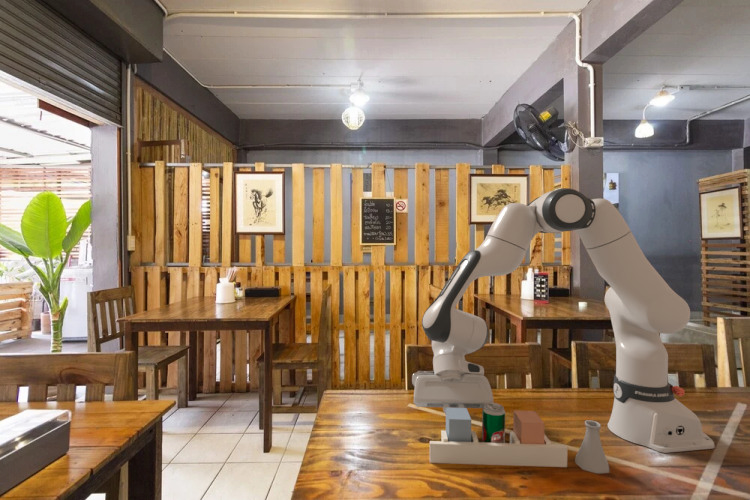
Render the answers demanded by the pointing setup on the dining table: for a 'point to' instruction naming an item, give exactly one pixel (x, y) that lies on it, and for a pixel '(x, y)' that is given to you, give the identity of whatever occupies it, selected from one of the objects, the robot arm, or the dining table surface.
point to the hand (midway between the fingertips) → (455, 424)
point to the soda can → (493, 423)
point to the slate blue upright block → (458, 425)
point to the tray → (498, 452)
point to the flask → (592, 450)
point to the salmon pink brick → (528, 427)
